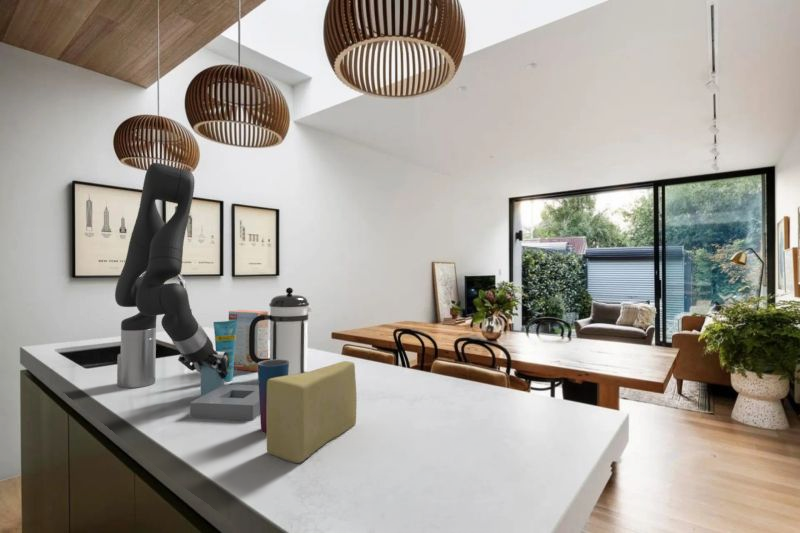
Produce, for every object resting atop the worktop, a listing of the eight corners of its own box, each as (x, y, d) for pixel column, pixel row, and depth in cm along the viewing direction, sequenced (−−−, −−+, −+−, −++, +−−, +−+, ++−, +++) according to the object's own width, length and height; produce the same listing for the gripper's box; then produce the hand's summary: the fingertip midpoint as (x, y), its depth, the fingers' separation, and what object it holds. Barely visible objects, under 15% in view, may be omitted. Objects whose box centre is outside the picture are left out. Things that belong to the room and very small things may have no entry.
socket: (189, 417, 101) (189, 400, 101) (224, 397, 117) (224, 382, 117) (252, 419, 99) (253, 403, 99) (279, 399, 115) (279, 384, 115)
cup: (294, 425, 95) (295, 360, 96) (276, 437, 89) (277, 367, 89) (269, 422, 98) (270, 358, 98) (250, 432, 91) (250, 364, 91)
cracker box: (268, 368, 150) (269, 311, 150) (256, 372, 145) (257, 312, 145) (240, 364, 156) (240, 309, 156) (227, 368, 150) (227, 310, 151)
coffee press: (289, 369, 149) (290, 286, 149) (320, 376, 140) (321, 287, 140) (247, 379, 135) (248, 287, 135) (278, 388, 126) (279, 289, 126)
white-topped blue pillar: (200, 397, 116) (201, 354, 116) (209, 392, 120) (210, 351, 120) (215, 398, 115) (216, 354, 116) (224, 393, 120) (224, 351, 120)
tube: (215, 383, 130) (216, 322, 130) (210, 380, 134) (211, 320, 134) (239, 379, 135) (240, 320, 135) (233, 376, 139) (234, 319, 139)
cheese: (338, 419, 100) (338, 357, 100) (370, 428, 95) (371, 362, 95) (263, 453, 81) (264, 376, 82) (298, 466, 76) (299, 384, 76)
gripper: (223, 329, 110) (244, 365, 122) (172, 328, 111) (198, 363, 123) (212, 353, 105) (235, 388, 117) (159, 352, 106) (187, 386, 118)
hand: (216, 375), depth 120 cm, fingers closed on white-topped blue pillar, 4 cm apart
